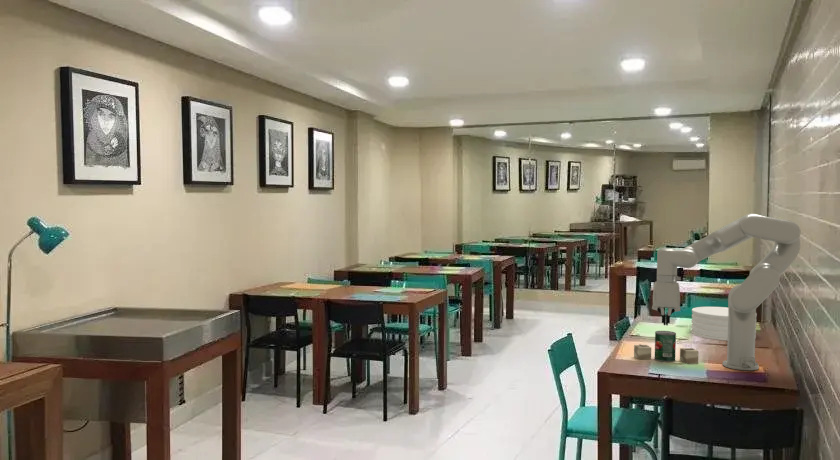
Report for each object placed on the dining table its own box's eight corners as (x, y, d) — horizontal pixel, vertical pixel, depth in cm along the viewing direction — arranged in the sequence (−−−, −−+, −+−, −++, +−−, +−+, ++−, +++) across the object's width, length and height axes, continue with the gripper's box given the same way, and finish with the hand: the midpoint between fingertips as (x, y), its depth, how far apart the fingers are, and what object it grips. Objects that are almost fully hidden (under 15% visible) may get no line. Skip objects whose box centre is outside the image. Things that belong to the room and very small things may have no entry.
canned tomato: (650, 358, 265) (650, 331, 264) (665, 356, 267) (666, 330, 267) (663, 362, 257) (664, 335, 257) (679, 361, 260) (680, 333, 259)
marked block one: (698, 363, 257) (698, 350, 257) (686, 363, 256) (686, 350, 256) (691, 360, 262) (692, 347, 262) (679, 360, 261) (680, 347, 261)
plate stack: (736, 343, 293) (737, 318, 293) (679, 333, 316) (680, 309, 315) (767, 336, 310) (767, 312, 309) (711, 327, 332) (711, 304, 332)
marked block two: (651, 359, 262) (651, 347, 262) (639, 360, 262) (639, 347, 262) (645, 356, 267) (645, 344, 267) (633, 357, 267) (634, 344, 267)
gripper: (686, 279, 262) (685, 324, 263) (647, 277, 267) (646, 322, 268) (687, 281, 255) (686, 327, 256) (646, 279, 260) (645, 325, 261)
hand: (665, 324), depth 262 cm, fingers closed
